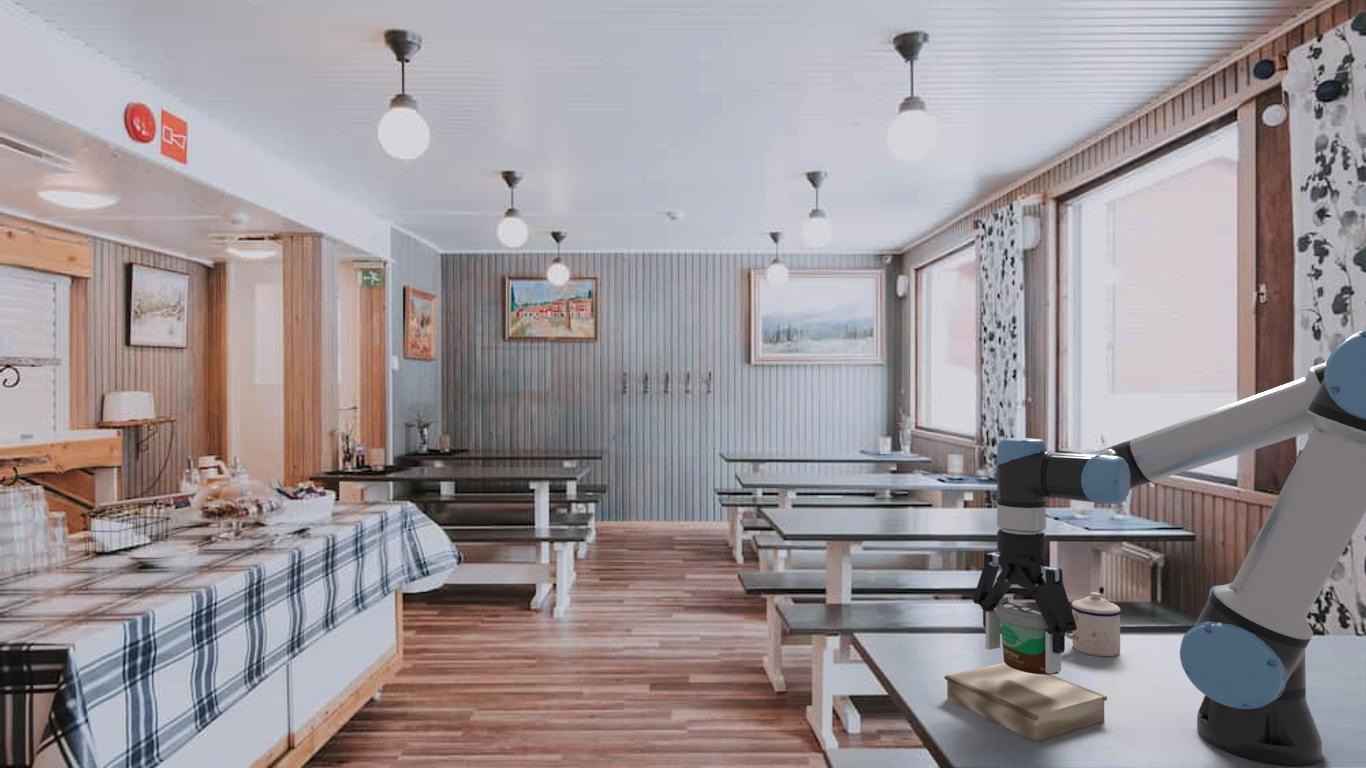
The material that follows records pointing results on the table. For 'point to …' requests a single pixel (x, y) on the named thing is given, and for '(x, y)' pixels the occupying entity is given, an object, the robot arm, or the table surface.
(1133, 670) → the table surface
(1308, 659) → the table surface
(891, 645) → the table surface
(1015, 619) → the food container
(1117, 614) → the teacup with lid
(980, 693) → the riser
